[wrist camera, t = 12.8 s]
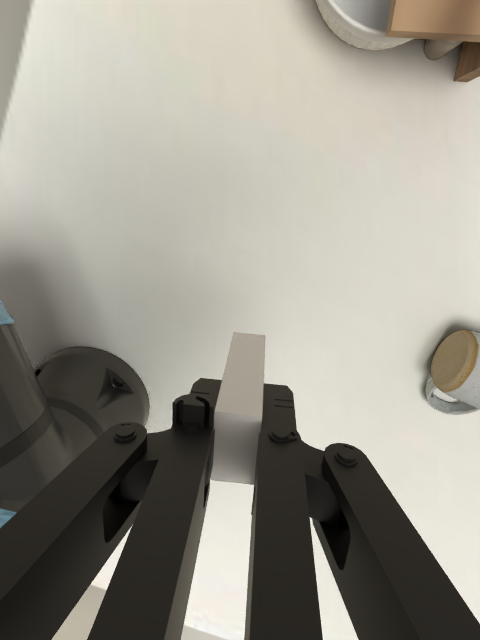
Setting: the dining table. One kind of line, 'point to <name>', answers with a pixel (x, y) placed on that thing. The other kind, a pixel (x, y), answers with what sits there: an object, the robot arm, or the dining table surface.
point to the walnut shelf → (441, 29)
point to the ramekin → (360, 22)
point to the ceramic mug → (456, 373)
